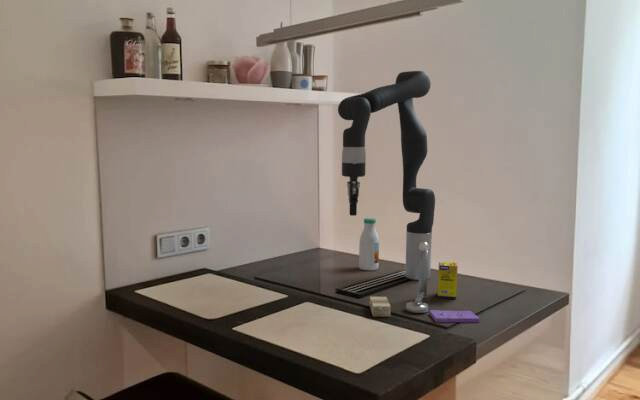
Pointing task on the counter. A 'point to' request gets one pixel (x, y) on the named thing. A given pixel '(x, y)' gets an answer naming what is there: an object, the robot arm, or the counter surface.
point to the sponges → (454, 316)
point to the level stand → (380, 306)
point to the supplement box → (447, 280)
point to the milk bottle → (369, 246)
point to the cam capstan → (421, 282)
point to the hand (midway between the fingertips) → (353, 215)
